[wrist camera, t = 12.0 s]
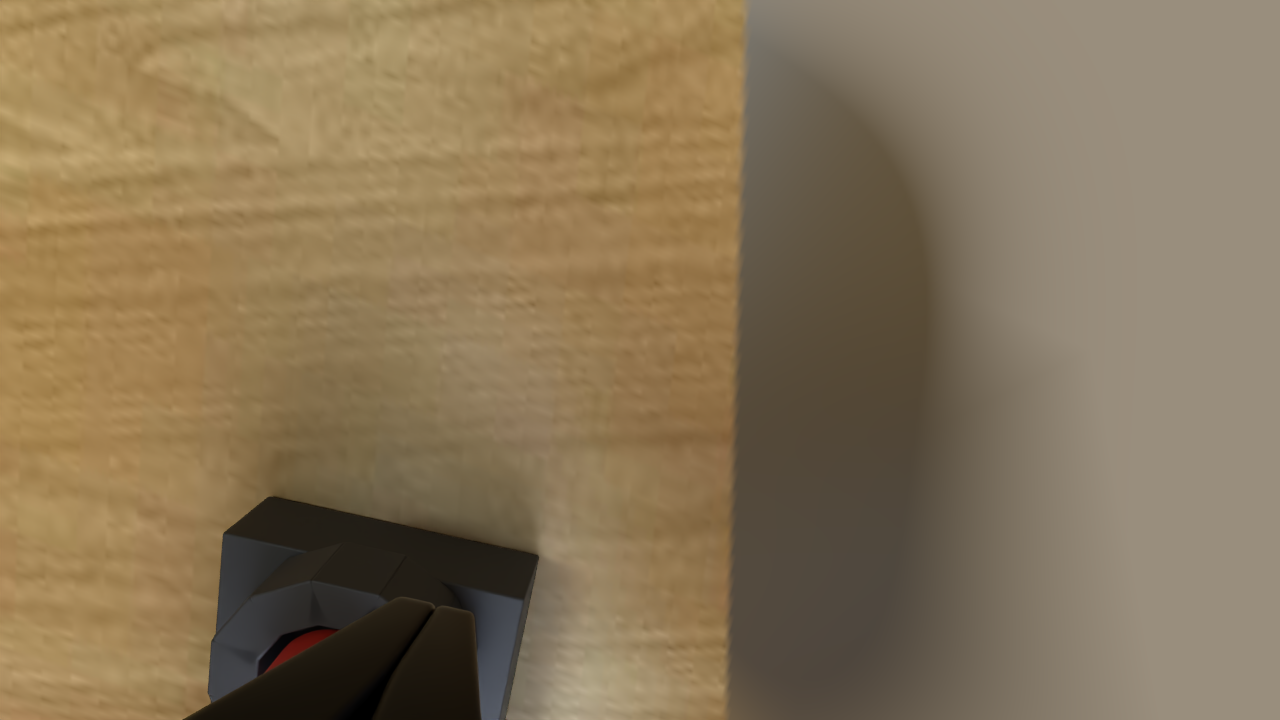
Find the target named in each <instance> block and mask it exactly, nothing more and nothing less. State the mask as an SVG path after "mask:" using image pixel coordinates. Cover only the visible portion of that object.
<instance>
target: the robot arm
mask: <svg viewBox="0 0 1280 720" xmlns="http://www.w3.org/2000/svg"><path fill="white" fill-rule="evenodd" d="M183 720H481V705H480V691H479V676H478V661H477V647H476V632H475V618H474V615H473V613H471V612H470V611H466V610H461V609H457V608H452V607H448V606H439V607H437V608H436V609H435V606H434V605H433V604H432V603H430V602H426V601H421V600H417V599H412V598H408V597H398V598H395V599H393V600H392V601H390V602H388V603H386V604H385V605H383V606H381V607H379V608H378V609H376V610H374V611H372V612H371V613H369V614H367V615H365V616H364V617H362V618H360V619H358V620H357V621H355V622H353V623H351V624H350V625H348V626H346V627H344V628H342V629H341V630H339V631H337V632H335V633H334V634H332V635H330V636H328V637H327V638H325V639H323V640H321V641H320V642H318V643H316V644H314V645H313V646H311V647H309V648H307V649H306V650H304V651H302V652H300V653H299V654H297V655H295V656H293V657H292V658H290V659H288V660H286V661H285V662H283V663H281V664H279V665H278V666H276V667H274V668H272V669H271V670H269V671H267V672H265V673H264V674H262V675H260V676H258V677H257V678H255V679H253V680H251V681H250V682H248V683H246V684H244V685H243V686H241V687H239V688H237V689H236V690H234V691H232V692H230V693H229V694H227V695H225V696H223V697H222V698H220V699H218V700H216V701H215V702H213V703H211V704H209V705H208V706H206V707H204V708H202V709H201V710H199V711H197V712H195V713H194V714H192V715H190V716H188V717H186V718H185V719H183Z"/></svg>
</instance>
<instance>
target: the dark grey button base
mask: <svg viewBox="0 0 1280 720" xmlns="http://www.w3.org/2000/svg"><path fill="white" fill-rule="evenodd" d="M538 560H539V557H538V556H537V555H533V554H528V553H524V552H519V551H515V550H510V549H506V548H501V547H497V546H492V545H488V544H483V543H479V542H474V541H470V540H465V539H461V538H456V537H452V536H447V535H443V534H438V533H433V532H429V531H424V530H420V529H415V528H411V527H406V526H402V525H397V524H393V523H388V522H384V521H379V520H375V519H370V518H366V517H361V516H357V515H352V514H348V513H343V512H338V511H334V510H329V509H325V508H320V507H316V506H311V505H307V504H302V503H298V502H293V501H289V500H284V499H280V498H275V497H267V498H266V499H265V500H264V501H262V502H261V503H260V504H259V505H257V506H256V507H255V508H254V509H253V510H251V511H250V512H249V513H248V514H246V515H245V516H244V517H243V518H241V519H240V520H239V521H238V522H236V523H235V524H234V525H233V526H231V527H230V528H229V529H228V530H227V531H225V532H224V534H223V542H222V556H221V569H220V583H219V597H218V610H217V624H216V634H215V635H214V638H213V639H212V641H211V655H210V669H209V683H208V694H209V697H210V699H211V703H213V702H215V701H216V700H218V699H220V698H222V697H223V696H225V695H227V694H229V693H230V692H232V691H234V690H236V689H237V688H239V687H241V686H243V685H244V684H246V683H248V682H250V681H251V680H253V679H255V678H257V677H258V676H260V675H262V674H264V673H265V671H266V670H267V669H268V668H269V666H270V665H271V664H272V663H273V662H274V660H275V659H276V658H277V657H278V655H279V654H280V653H281V652H282V650H283V649H284V648H285V647H286V646H287V645H288V644H289V643H290V642H291V641H293V640H294V639H296V638H297V637H299V636H301V635H303V634H306V633H309V632H312V631H316V630H323V629H337V630H341V629H342V628H344V627H346V626H348V625H350V624H351V623H353V622H355V621H357V620H358V619H360V618H362V617H364V616H365V615H367V614H369V613H371V612H372V611H374V610H376V609H378V608H379V607H381V606H383V605H385V604H386V603H388V602H390V601H392V600H393V599H395V598H398V597H408V598H412V599H417V600H421V601H426V602H430V603H432V604H433V605H434V606H435V609H436V608H437V607H439V606H448V607H452V608H457V609H461V610H466V611H470V612H471V613H473V615H474V618H475V632H476V647H477V661H478V676H479V691H480V705H481V720H505V718H506V713H507V709H508V704H509V699H510V694H511V689H512V685H513V680H514V675H515V670H516V665H517V661H518V656H519V651H520V646H521V642H522V637H523V632H524V627H525V622H526V618H527V613H528V608H529V603H530V598H531V594H532V589H533V584H534V579H535V574H536V570H537V565H538Z"/></svg>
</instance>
